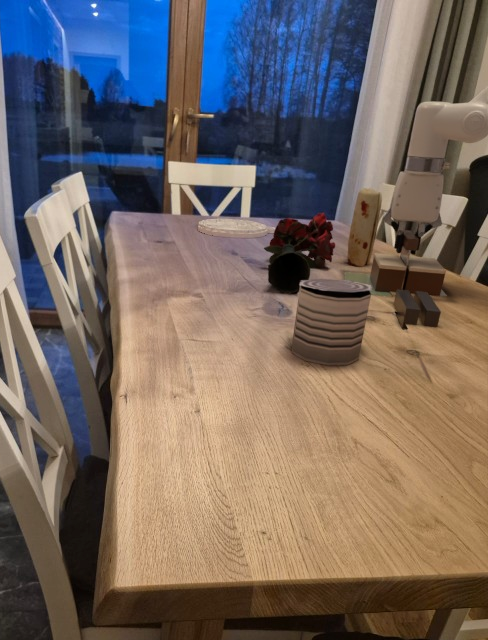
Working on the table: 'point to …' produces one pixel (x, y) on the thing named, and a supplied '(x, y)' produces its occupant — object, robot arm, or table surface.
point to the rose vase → (298, 251)
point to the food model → (364, 227)
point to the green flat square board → (370, 283)
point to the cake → (424, 276)
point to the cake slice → (387, 272)
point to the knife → (408, 247)
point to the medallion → (234, 228)
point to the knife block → (416, 308)
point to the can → (330, 321)
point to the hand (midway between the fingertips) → (405, 252)
